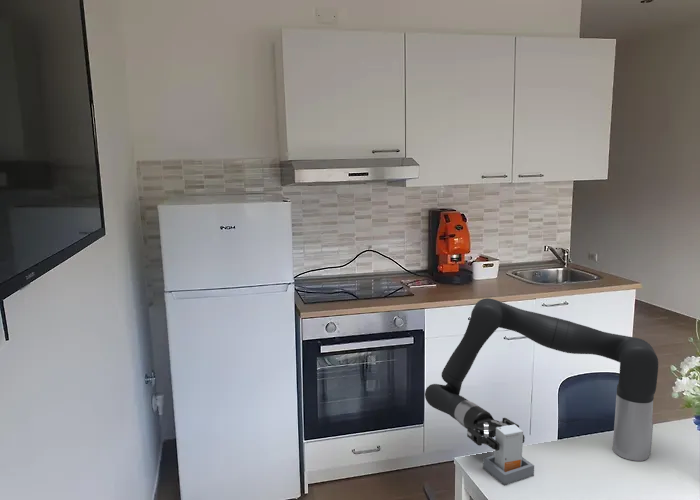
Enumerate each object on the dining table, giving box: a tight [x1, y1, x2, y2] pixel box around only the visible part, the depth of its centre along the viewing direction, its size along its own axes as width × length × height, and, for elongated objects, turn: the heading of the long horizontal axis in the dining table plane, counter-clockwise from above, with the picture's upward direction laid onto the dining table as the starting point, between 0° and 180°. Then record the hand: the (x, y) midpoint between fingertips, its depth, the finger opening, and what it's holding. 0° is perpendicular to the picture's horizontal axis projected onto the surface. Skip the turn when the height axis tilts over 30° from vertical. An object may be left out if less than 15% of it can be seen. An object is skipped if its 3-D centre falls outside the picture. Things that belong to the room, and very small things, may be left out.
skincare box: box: [494, 424, 524, 472], centre depth 142 cm, size 6×4×12 cm
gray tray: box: [482, 454, 535, 486], centre depth 143 cm, size 10×9×3 cm
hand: (511, 443), depth 141 cm, fingers open, 8 cm apart
